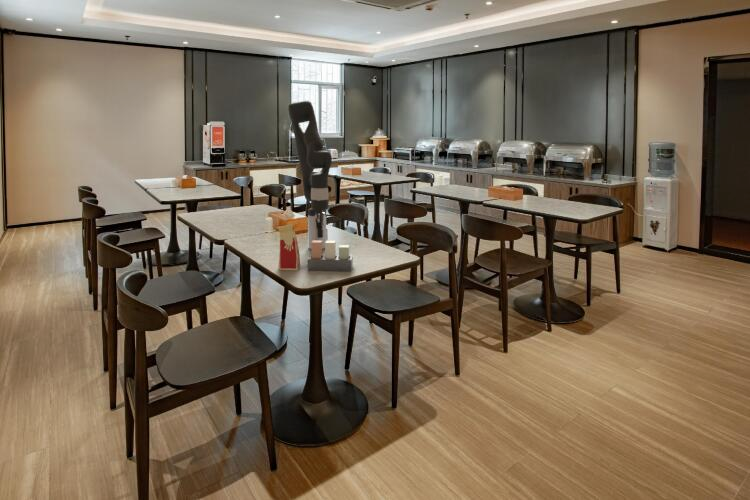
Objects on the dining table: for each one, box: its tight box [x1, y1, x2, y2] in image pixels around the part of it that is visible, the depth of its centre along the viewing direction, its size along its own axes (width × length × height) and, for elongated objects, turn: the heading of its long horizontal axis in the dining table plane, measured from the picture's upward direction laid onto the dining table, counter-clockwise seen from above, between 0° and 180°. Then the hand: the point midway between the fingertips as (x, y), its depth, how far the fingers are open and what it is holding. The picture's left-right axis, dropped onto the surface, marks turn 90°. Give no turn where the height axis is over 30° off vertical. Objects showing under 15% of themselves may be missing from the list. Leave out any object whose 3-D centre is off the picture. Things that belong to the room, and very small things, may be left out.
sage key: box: [338, 244, 350, 259], centre depth 224 cm, size 4×4×7 cm
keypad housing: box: [307, 253, 354, 272], centre depth 225 cm, size 19×9×5 cm, turn 89°
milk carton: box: [276, 223, 301, 271], centre depth 223 cm, size 9×9×20 cm
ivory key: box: [324, 240, 337, 259], centre depth 224 cm, size 4×4×7 cm
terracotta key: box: [310, 240, 323, 259], centre depth 224 cm, size 4×4×7 cm
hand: (320, 237), depth 223 cm, fingers closed
